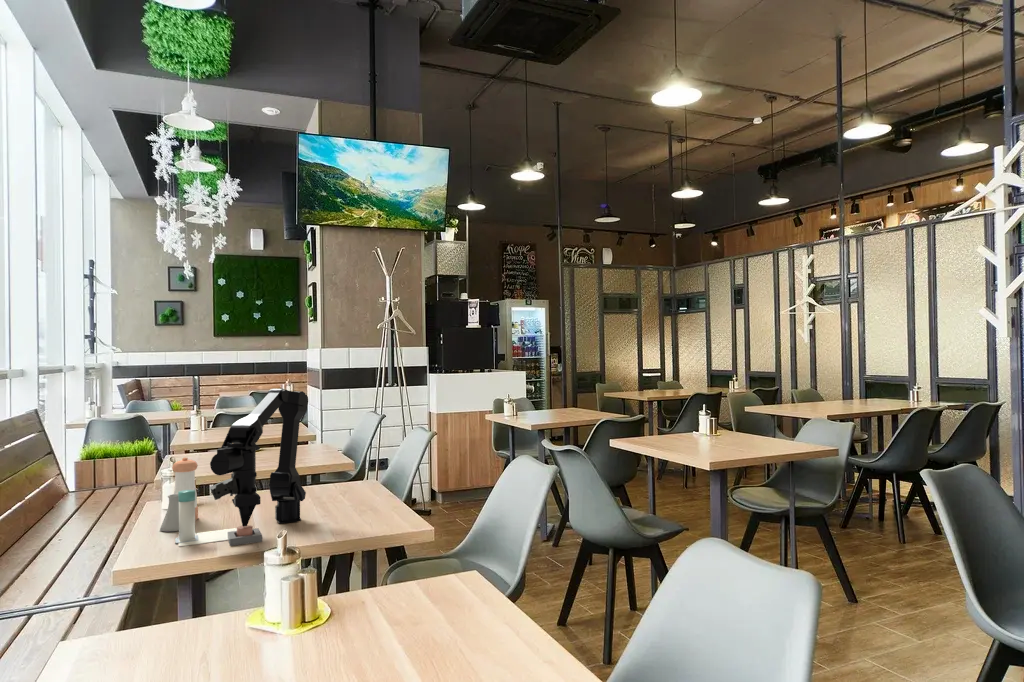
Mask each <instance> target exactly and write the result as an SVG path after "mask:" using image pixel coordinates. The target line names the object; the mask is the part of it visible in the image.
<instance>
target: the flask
mask: <svg viewBox="0 0 1024 682" xmlns="http://www.w3.org/2000/svg"><path fill="white" fill-rule="evenodd" d="M167 498H168V504H167V505H168V506H167V510H166V513H165V515H164V518H163V519H162V520H163V521H162V523H161V525H160V528H159V531H160V532H177V531H178V532H179V501H178V494H174V493H173V494H169V495H167Z"/></svg>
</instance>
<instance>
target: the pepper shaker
mask: <svg viewBox="0 0 1024 682" xmlns="http://www.w3.org/2000/svg"><path fill="white" fill-rule="evenodd" d="M171 468H172V471H173V472H174V490H173V494H178V492H179V491H183V490H195V521H197V520H198V519H199V506H198V505H197V503H198V494H197V488H196V476H195V475H196V470H197V469H198V463H197V462H196V461H195V460H193V459H189V458H188V457H183V458H181V460H177V461H176V462H174V463H173V464H172V467H171Z"/></svg>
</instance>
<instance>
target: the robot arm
mask: <svg viewBox="0 0 1024 682" xmlns="http://www.w3.org/2000/svg"><path fill="white" fill-rule="evenodd" d="M308 403H309V396H308V395H307V394H306V393H305V391H301V390H299V391H295V390H294V391H292V390H288V389H285V388H271V389H269V390H267V394H266V395H265V397H264V398H262V400H261V401H260V402H259V403H258V404H257V405H256V406H255V408H254V409H253V410H252V411H250V413H249V414H248V415H246V416H244V417H242V418H240V419H238V420H236V421H235V422H234V423H233V424H231V425H230V427H229V429H228V432H227V434H226V436H225V438H224V441H223V443H222V445H221V447H220V448H218V449H216V454H214V455H213V456H212V457H211V460H210V463H209V466H210V469H211V471H212V473H213V474H215V475H216V476H224V475H228V474H230V475H231V476H230V478H228V479H225V480H223V481H220V482H219V483H216V484H213V485H211V486H210V487H209V488H210V491H211V494H212V496H213V499H214V500H215V501H216V500H220V499H221V498H222V497H225V496H227V495H230V497H233V495H234V497H233V499H231V501H232V503H233V506H234V507H235V508H238V512H239V516H240V521H241V526H247V525H248V524H249V522H250V519H251V517H252V515H253V513H254V510H255V508H256V506H258V505H261V496H260V494H258V493H257V490H258V487H256V482H257V480H256V479H257V474H258V473H257V472H256V470H257V467H256V464H257V463H256V461H257V460H256V457H257V456H256V452H257V451H260V450H261V447H260V446H259V445H258V444H257V442H259V439H260V438H261V436H262V435H263V433H264V432H263V431H264V430H263V428H264V425H265V424H266V423H267V422H268V421H269V419H270V418H272V416H273V415H274V414H275V413H276V411H277V410H278V413H279V414H280V416H281V418H282V427H281V437H280V446H279V447H280V448H279V455H278V456H279V457H278V465H277V468H276V469H275V471H273V472H271V473H270V475H269V484H268V487H269V493H270V497H271V501H272V502H276V505H275V506H274V510H275V511H274V514H275V516H274V517H275V520H276V521H277V523H278V524H287V523H288V524H289V523H294V522H295V523H297V522H301V521H302V518H301V502H303V501H304V500H306V494H307V492H306V490H305V489H304V488H303V486H302V485H301V478H300V474H299V472H298V469H297V468H296V464H297V463H296V462H297V455H298V454H297V453H298V445H299V444H298V443H299V442H298V441H299V432H300V431H299V430H300V422H301V419H302V418H303V416H304V415H305V414H306V412H307V408H308Z"/></svg>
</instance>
